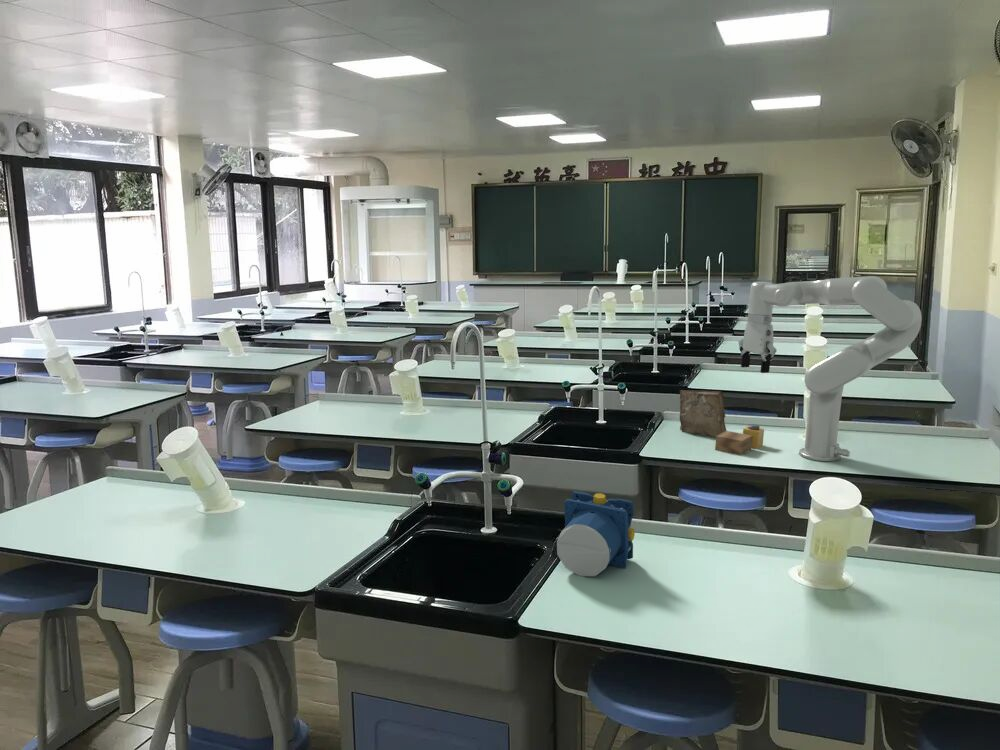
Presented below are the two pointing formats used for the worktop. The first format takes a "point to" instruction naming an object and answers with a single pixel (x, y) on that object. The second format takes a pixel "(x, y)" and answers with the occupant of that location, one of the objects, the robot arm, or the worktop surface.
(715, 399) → the mineral sample
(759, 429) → the canister
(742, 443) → the specimen box
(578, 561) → the valve
